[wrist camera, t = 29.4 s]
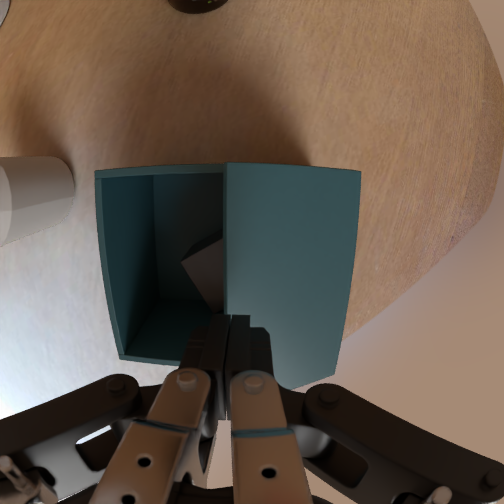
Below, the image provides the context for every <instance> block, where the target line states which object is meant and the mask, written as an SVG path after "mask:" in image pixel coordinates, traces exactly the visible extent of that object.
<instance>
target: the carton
mask: <svg viewBox="0 0 504 504" xmlns="http://www.w3.org/2000/svg"><path fill="white" fill-rule="evenodd" d="M223 166H224V164H180V165H158V166H141V167H128V168H116V169H106V170H96V171H95V203H96V219H97V232H98V242H99V251H100V260H101V267H102V275H103V281H104V288H105V294H106V299H107V305H108V310H109V315H110V320H111V325H112V330H113V334H114V338H115V343H116V347H117V351H118V355H119V359H120V360H127V361H135V362H142V363H151V364H160V365H170V366H179V365H180V362H181V359H182V356H183V353H184V351H185V348H186V345H187V342H188V339H189V336H190V334H191V332H192V331H193V330H194V329H195V328H196V327H197V326H199V325H201V326H209V324H210V320H211V316H212V314H214V313H213V312H212V311H211V309H210V308H209V306H208V305H207V303H206V302H205V300H204V299H203V297H202V296H201V294H200V293H199V291H198V290H197V288H196V286H195V285H194V283H193V282H192V280H191V279H190V277H189V276H188V274H187V272H186V271H185V269H184V268H183V266H182V265H181V263H180V261H181V260H182V259H183V257H184V256H185V254H186V253H187V252H188V250H189V249H190V248H191V246H192V245H194V244H195V243H197V242H199V241H201V240H202V239H204V238H206V237H208V236H210V235H211V234H213V233H215V232H217V231H219V230H220V229H222V228H223ZM347 170H349V169H347ZM215 314H224V309H223V310H221V311H219V312H217V313H215Z"/></svg>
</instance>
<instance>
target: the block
mask: <svg viewBox="0 0 504 504" xmlns="http://www.w3.org/2000/svg"><path fill="white" fill-rule="evenodd" d="M180 263H181V265H182V266H183V268H184V269H185V271H186V272H187V274H188V276H189V277H190V279H191V280H192V282H193V283H194V285H195V286H196V288H197V290H198V291H199V293H200V294H201V296H202V297H203V299H204V300H205V302H206V303H207V305H208V306H209V308H210V309H211V311H212V312H213V313H214V314H215V313H217V312H219V311H221V310H223V309H224V282H223V228H222V229H220V230H219V231H217V232H215V233H213V234H211V235H210V236H208V237H206V238H204V239H202V240H201V241H199V242H197V243H195V244H194V245H192V246H191V248H190V249H189V250H188V252H187V253H186V254H185V256H184V257H183V259H182V260H181V261H180Z"/></svg>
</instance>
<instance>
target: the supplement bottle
mask: <svg viewBox="0 0 504 504" xmlns="http://www.w3.org/2000/svg"><path fill="white" fill-rule="evenodd" d="M168 1H169V3H170V4H171V6H172V7H173V8H175V9H176V10H178V11H180V12H183V13H188V14H200V13H206V12H209V11H212V10H215V9H217V8H219V7H221V6H222V5H223V4H225V3H226V2H227V1H228V0H168Z"/></svg>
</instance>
